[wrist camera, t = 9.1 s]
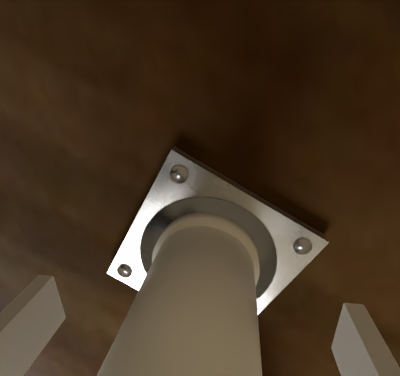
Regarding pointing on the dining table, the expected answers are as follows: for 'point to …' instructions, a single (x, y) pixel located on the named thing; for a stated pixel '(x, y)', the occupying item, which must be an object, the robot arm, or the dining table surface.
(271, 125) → the dining table surface
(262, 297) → the flange plate
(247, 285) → the elbow
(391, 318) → the dining table surface
